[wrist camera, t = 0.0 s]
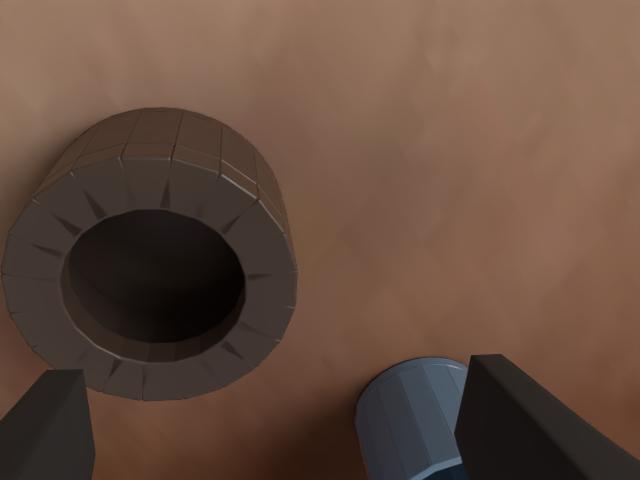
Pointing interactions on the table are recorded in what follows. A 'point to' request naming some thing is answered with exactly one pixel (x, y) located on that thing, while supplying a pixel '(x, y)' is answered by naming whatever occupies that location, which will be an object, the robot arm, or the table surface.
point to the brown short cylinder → (154, 258)
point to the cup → (412, 421)
